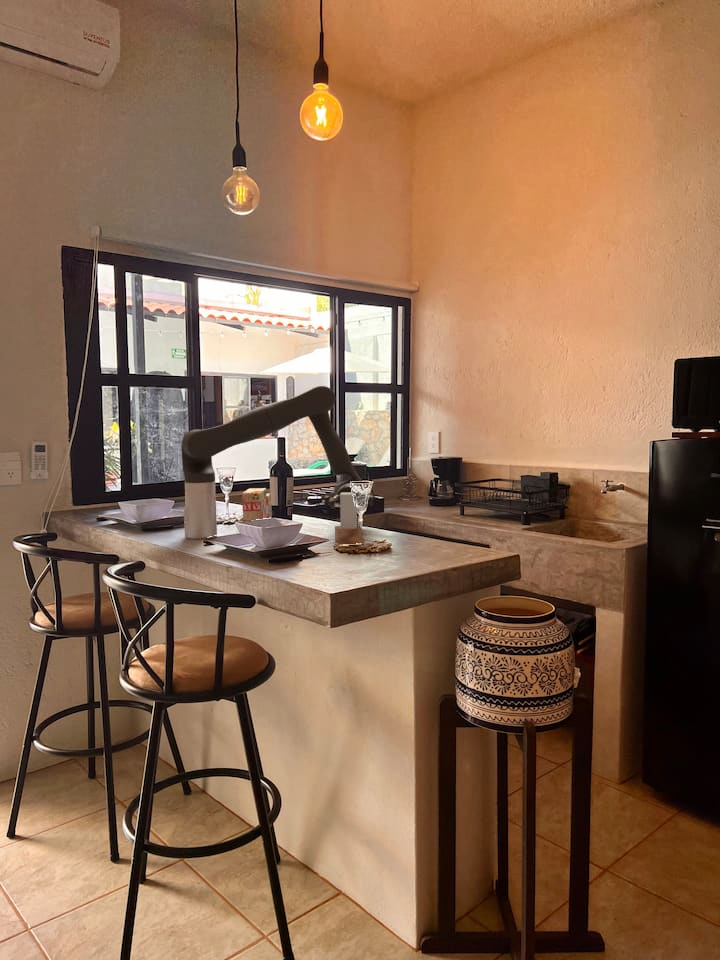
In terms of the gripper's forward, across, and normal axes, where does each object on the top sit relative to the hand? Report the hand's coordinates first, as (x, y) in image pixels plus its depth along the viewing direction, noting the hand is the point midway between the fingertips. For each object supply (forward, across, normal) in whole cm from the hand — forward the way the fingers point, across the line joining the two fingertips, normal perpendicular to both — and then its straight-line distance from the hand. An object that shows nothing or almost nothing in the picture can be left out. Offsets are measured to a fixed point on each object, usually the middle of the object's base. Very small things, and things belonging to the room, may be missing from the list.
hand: (347, 503), depth 197 cm
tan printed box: (-40, -32, +12) cm, 53 cm away
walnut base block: (-2, 0, +12) cm, 12 cm away
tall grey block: (-2, 0, +7) cm, 7 cm away
